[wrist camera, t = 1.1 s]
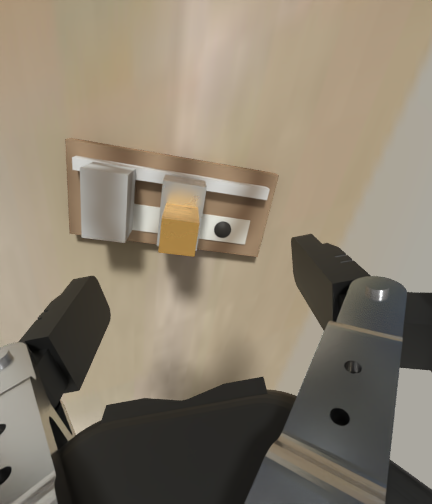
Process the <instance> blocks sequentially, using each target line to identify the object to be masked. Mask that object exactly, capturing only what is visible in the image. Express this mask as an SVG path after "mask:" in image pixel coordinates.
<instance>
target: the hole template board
mask: <svg viewBox="0 0 432 504" xmlns="http://www.w3.org/2000/svg"><path fill="white" fill-rule="evenodd" d="M65 142H66V164H67V185H68V207H69V229H70V234H77V235H82V238H89V239H97V240H106V241H114V242H122V243H125V242H126V241H134V242H142V243H150V244H157V237H158V226H159V215H160V205H161V194H162V184H163V179H164V177H165V175H166V174H168V175H174V176H180V177H187V178H193V179H199V180H205V182H206V186H207V189H206V195H205V202H204V208H203V214H202V220H201V227H200V233H199V239H198V245H197V249H198V250H206V251H214V252H222V253H230V254H238V255H246V256H255V257H258V253H259V249H260V245H261V242H262V238H263V234H264V230H265V226H266V222H267V219H268V215H269V211H270V207H271V203H272V200H273V196H274V192H275V188H276V184H277V181H278V177H279V175H277V174H275V173H271V172H265V171H259V170H253V169H247V168H242V167H236V166H230V165H224V164H218V163H213V162H207V161H201V160H195V159H189V158H184V157H178V156H172V155H166V154H160V153H154V152H149V151H143V150H137V149H131V148H125V147H120V146H114V145H108V144H102V143H96V142H90V141H85V140H79V139H73V138H69V139H65Z"/></svg>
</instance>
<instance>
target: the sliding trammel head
mask: <svg viewBox="0 0 432 504" xmlns="http://www.w3.org/2000/svg"><path fill="white" fill-rule="evenodd" d="M206 189H207V186H206V182H205V180H199V179H193V178H187V177H180V176H174V175H168V174H166V175H165V177H164V179H163V184H162V194H161V205H160V215H159V226H158V237H157V246H159V251H158V252H159V253H168V254H176V255H184V256H193V257H194V256H195V251H197V245H198V239H199V233H200V227H201V220H202V214H203V208H204V202H205V195H206Z"/></svg>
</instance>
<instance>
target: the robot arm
mask: <svg viewBox="0 0 432 504" xmlns="http://www.w3.org/2000/svg"><path fill="white" fill-rule="evenodd" d="M291 248H292V261H293V274H294V279H295V282H296V285H297V287H298V289H299V290H300V292H301V294H302V295H303V297H304V299H305V300H306V302H307V304H308V305H309V307H310V309H311V310H312V312H313V314H314V315H315V317H316V318H317V320H318V322H319V323H320V325H321V327H322V328H323V330H324V333H323V335H322V338H321V340H320V343H319V345H318V347H317V350H316V352H315V355H314V357H313V359H312V362H311V364H310V366H309V369H308V371H307V374H306V376H305V378H304V381H303V383H302V386H301V388H300V390H299V393H298V395H297V396H295V395H292V394H289V393H286V392H281V391H276V390H266V386H265V382H264V378H263V377H259V378H254V379H248V380H242V381H237V382H231V383H226V384H223V385H220V386H218V387H216V388H213V389H211V390H208V391H206V392H204V393H201V394H199V395H197V396H194V397H192V398H190V399H187V400H183V401H177V400H163V399H148V398H143V399H138V400H132V401H127V402H121V403H116V404H110V405H106V408H105V411H104V414H103V418H102V420H101V421H99V422H97V423H95V424H93V425H91V426H89V427H88V428H86V429H85V430H83V431H81V432H80V433H78V434H77V435H76V434H75V432H74V429H73V426H72V424H71V421H70V419H69V416H68V413H67V411H66V408H65V406H64V404H63V402H62V401H61V397H62V395H63V393H68V392H74V391H79V390H80V388H81V386H82V384H83V381H84V379H85V377H86V374H87V372H88V370H89V368H90V365H91V363H92V361H93V359H94V356H95V354H96V352H97V349H98V347H99V345H100V343H101V340H102V338H103V336H104V334H105V331H106V329H107V327H108V325H109V322H110V316H111V315H110V308H109V305H108V303H107V301H106V298H105V296H104V294H103V291H102V289H101V287H100V285H99V282H98V280H97V279H96V277H95V276H88V277H83V278H78V279H73V280H72V281H71V283H70V284H69V285H68V286H67V288H66V289H65V290H64V291H63V293H62V294H61V295H60V296H58V297H57V298H56V299H54V300H53V301H52V302H51V303H50V304H49V305H48V306H47V308H46V309H45V310H44V313H42V314H41V315H40V316H39V317H38V320H36V321H35V322H34V324H33V325H32V326H31V327H30V328H29V330H28V331H27V332H26V333H25V335H24V336H23V337H22V338H21V340H20V341H19V342H16V343H11V344H8V345H5V346H3V347H1V348H0V504H432V489H430V488H428V487H427V486H426V485H425V484H423V483H422V482H420V481H419V480H418V479H416V478H415V477H413V476H412V475H411V474H409V473H408V472H407V471H405V470H404V469H402V468H401V467H400V466H398V465H397V464H395V463H394V462H393V461H391V460H390V451H391V442H392V433H393V423H394V414H395V405H396V396H397V387H398V378H399V368H410V369H422V370H431V372H432V293H412V292H407V291H406V289H405V288H404V286H403V285H401V284H400V283H398V282H396V281H394V280H391V279H389V278H385V277H378V276H370V275H369V274H368V273H367V272H366V271H365V270H364V269H362V268H361V267H360V266H359V265H358V264H357V263H356V262H355V261H352V259H351V258H350V257H349V256H348V255H346V254H345V253H344V252H343V251H342V250H341V249H340V248H339V247H336V246H334V245H331V244H329V243H325V244H322V243H321V242H320V241H319V240H317V239H316V238H315V237H314V236H313V235H312V234H308V235H303V236H297V237H292V240H291Z"/></svg>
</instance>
